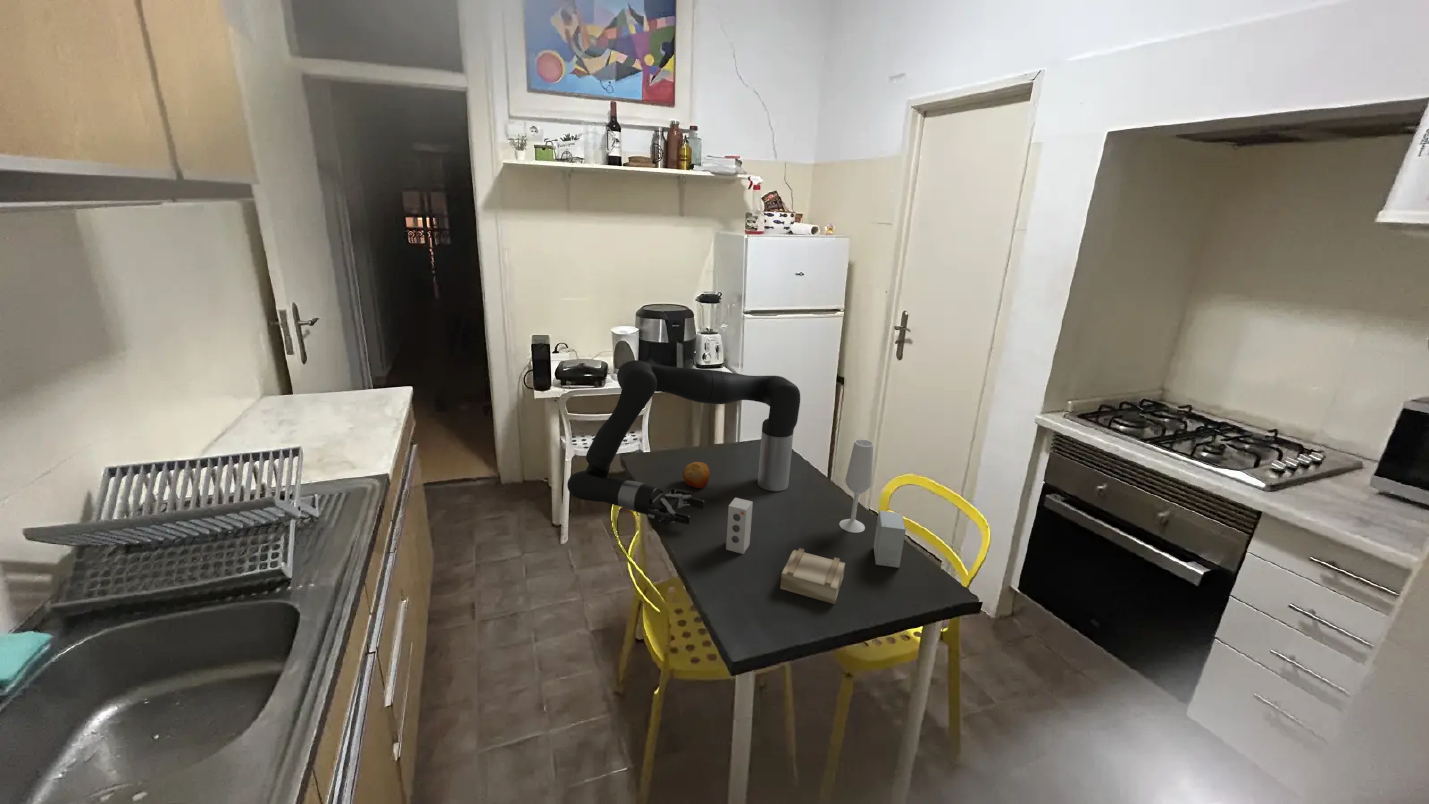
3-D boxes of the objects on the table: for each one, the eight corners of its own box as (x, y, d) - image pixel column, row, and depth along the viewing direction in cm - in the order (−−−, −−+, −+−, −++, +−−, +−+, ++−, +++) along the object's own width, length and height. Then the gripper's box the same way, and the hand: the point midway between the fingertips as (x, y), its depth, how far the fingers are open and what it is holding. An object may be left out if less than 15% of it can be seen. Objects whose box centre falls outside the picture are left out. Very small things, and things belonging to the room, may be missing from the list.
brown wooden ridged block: (792, 564, 134) (793, 546, 132) (843, 578, 130) (845, 560, 128) (780, 588, 125) (782, 570, 123) (834, 604, 121) (837, 585, 119)
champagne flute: (870, 528, 150) (883, 445, 142) (851, 535, 147) (863, 450, 139) (852, 517, 156) (864, 436, 148) (834, 522, 152) (844, 440, 145)
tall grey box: (732, 540, 142) (735, 497, 138) (749, 544, 141) (752, 501, 137) (725, 549, 138) (728, 506, 134) (743, 554, 137) (746, 510, 133)
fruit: (718, 477, 172) (711, 461, 166) (705, 498, 167) (698, 482, 162) (696, 470, 176) (689, 454, 170) (683, 490, 171) (675, 474, 166)
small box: (899, 568, 134) (906, 530, 131) (874, 565, 135) (881, 526, 132) (896, 550, 141) (902, 512, 138) (873, 546, 142) (878, 509, 139)
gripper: (625, 496, 139) (685, 512, 134) (653, 473, 152) (709, 487, 146) (625, 523, 142) (684, 539, 136) (652, 498, 154) (707, 512, 149)
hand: (697, 512), depth 141 cm, fingers open, 8 cm apart
